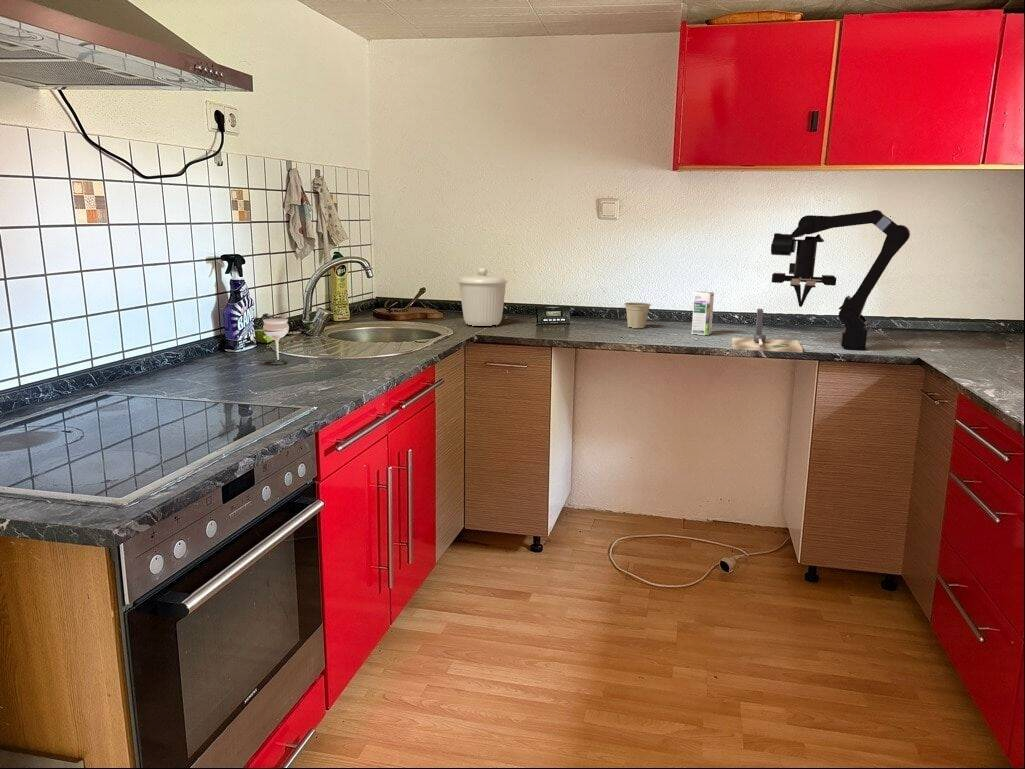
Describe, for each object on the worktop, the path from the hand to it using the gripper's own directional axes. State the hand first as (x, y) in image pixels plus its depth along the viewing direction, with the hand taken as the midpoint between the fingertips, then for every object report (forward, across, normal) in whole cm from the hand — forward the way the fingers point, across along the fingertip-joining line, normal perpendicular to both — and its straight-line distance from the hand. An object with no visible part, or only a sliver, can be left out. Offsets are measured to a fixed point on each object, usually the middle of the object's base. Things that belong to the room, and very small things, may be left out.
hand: (800, 306), depth 242 cm
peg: (+11, +11, +7) cm, 17 cm away
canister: (+14, +108, -5) cm, 109 cm away
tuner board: (+12, +9, +8) cm, 17 cm away
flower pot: (+13, +54, -18) cm, 58 cm away
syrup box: (+13, +30, -10) cm, 34 cm away
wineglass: (+15, +136, +81) cm, 159 cm away
